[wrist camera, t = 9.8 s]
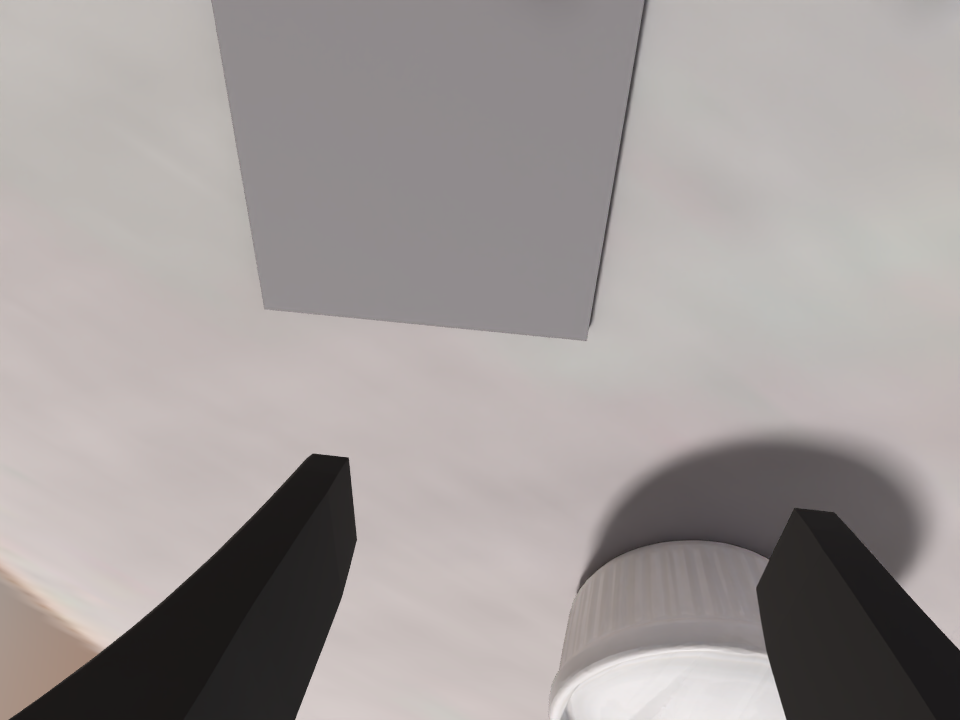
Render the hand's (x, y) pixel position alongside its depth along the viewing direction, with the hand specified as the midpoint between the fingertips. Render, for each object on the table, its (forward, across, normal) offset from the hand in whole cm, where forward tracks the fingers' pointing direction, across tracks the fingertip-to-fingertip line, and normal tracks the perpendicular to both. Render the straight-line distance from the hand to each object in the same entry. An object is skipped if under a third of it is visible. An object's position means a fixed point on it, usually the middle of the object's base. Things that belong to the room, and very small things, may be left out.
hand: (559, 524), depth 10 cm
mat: (+9, +4, -3) cm, 11 cm away
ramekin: (+10, -7, +15) cm, 19 cm away
